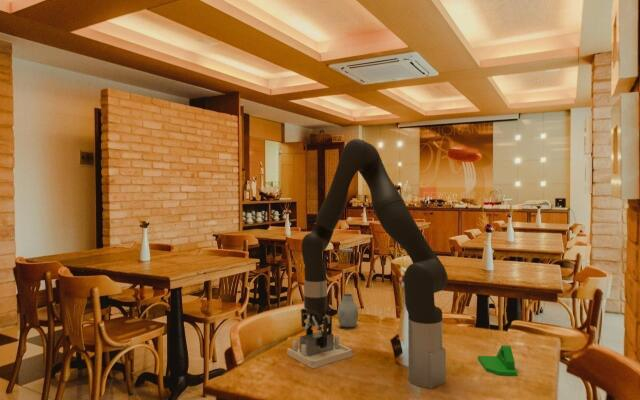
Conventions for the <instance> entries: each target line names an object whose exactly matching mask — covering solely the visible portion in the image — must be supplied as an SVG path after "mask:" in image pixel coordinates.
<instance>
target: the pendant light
mask: <svg viewBox="0 0 640 400" xmlns="http://www.w3.org/2000/svg"><path fill="white" fill-rule="evenodd" d="M353 251H354V250H353V248H342V250H341V252H343V253H346V257H347V259H346V261H347V262H346V264H347V265H346V266H347V271H346V272H347V276H346V277H347V279H349V271H348V270H349V262H348V261H349V260H348V259H349V256H348V255H349V253H352V252H353ZM337 307H338V308H337V312H336V314H337V321H338V323H339V324H340V325H341V326H342V327H345V328H353V327H354V326H356V325H357V322H358V320H359V309H358V307H357V304H356V302H355V299H354V296H353V294H352V293H343V294H342V297H341V301H340V303H339V305H338V306H337Z"/></svg>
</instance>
